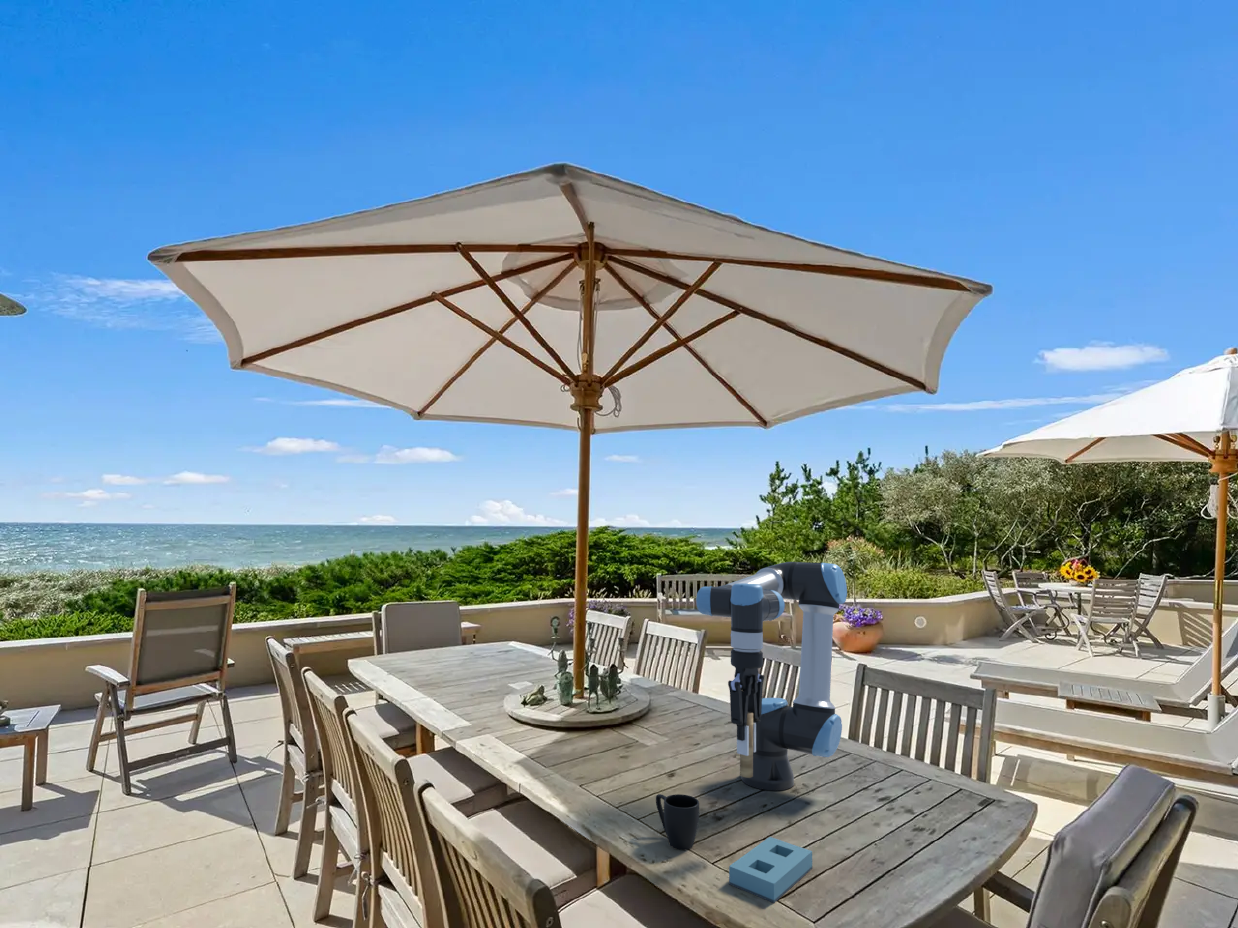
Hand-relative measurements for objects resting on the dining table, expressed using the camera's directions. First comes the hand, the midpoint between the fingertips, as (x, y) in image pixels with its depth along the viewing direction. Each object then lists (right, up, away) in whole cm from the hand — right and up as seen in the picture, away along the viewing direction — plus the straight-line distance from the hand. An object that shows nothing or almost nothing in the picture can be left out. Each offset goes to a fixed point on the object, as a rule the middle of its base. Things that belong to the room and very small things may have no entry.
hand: (746, 752), depth 149 cm
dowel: (0, -5, -1) cm, 5 cm away
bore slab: (+2, -19, -15) cm, 25 cm away
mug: (-17, -21, -1) cm, 27 cm away
